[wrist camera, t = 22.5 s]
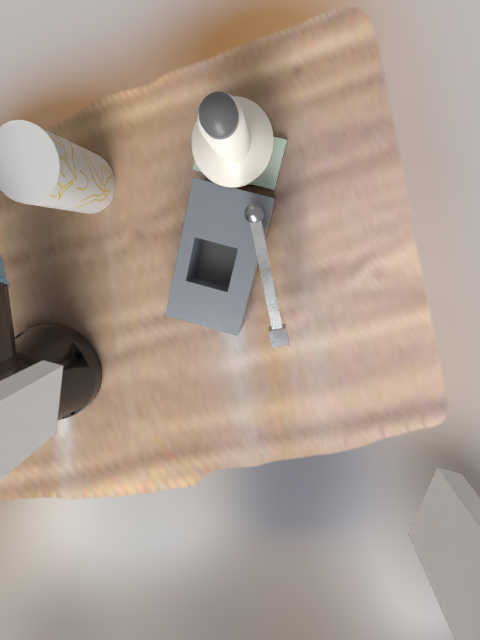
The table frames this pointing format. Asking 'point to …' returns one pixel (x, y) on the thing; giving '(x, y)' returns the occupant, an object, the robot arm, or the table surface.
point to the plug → (231, 140)
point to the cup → (52, 170)
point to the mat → (272, 170)
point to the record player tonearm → (266, 276)
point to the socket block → (216, 257)
